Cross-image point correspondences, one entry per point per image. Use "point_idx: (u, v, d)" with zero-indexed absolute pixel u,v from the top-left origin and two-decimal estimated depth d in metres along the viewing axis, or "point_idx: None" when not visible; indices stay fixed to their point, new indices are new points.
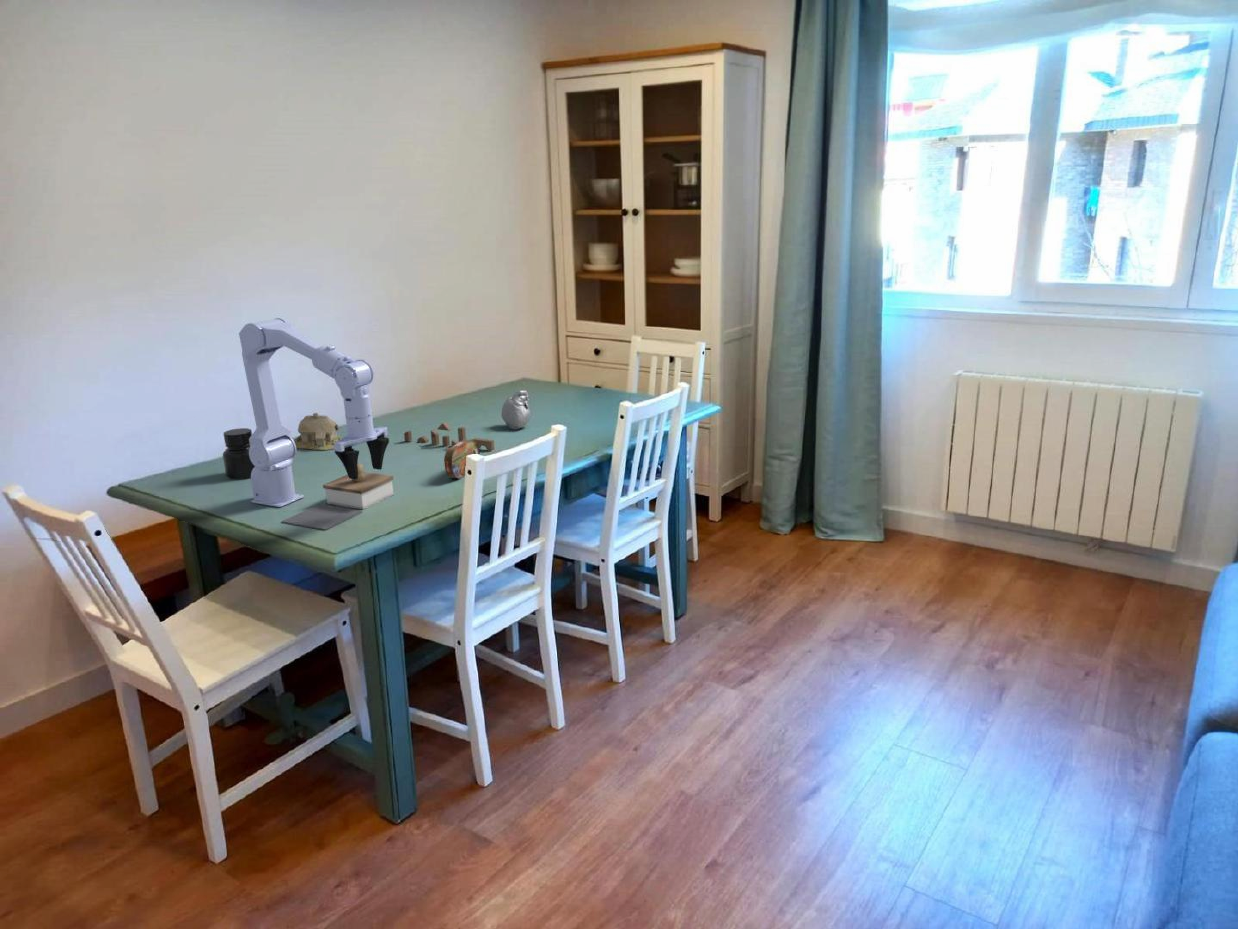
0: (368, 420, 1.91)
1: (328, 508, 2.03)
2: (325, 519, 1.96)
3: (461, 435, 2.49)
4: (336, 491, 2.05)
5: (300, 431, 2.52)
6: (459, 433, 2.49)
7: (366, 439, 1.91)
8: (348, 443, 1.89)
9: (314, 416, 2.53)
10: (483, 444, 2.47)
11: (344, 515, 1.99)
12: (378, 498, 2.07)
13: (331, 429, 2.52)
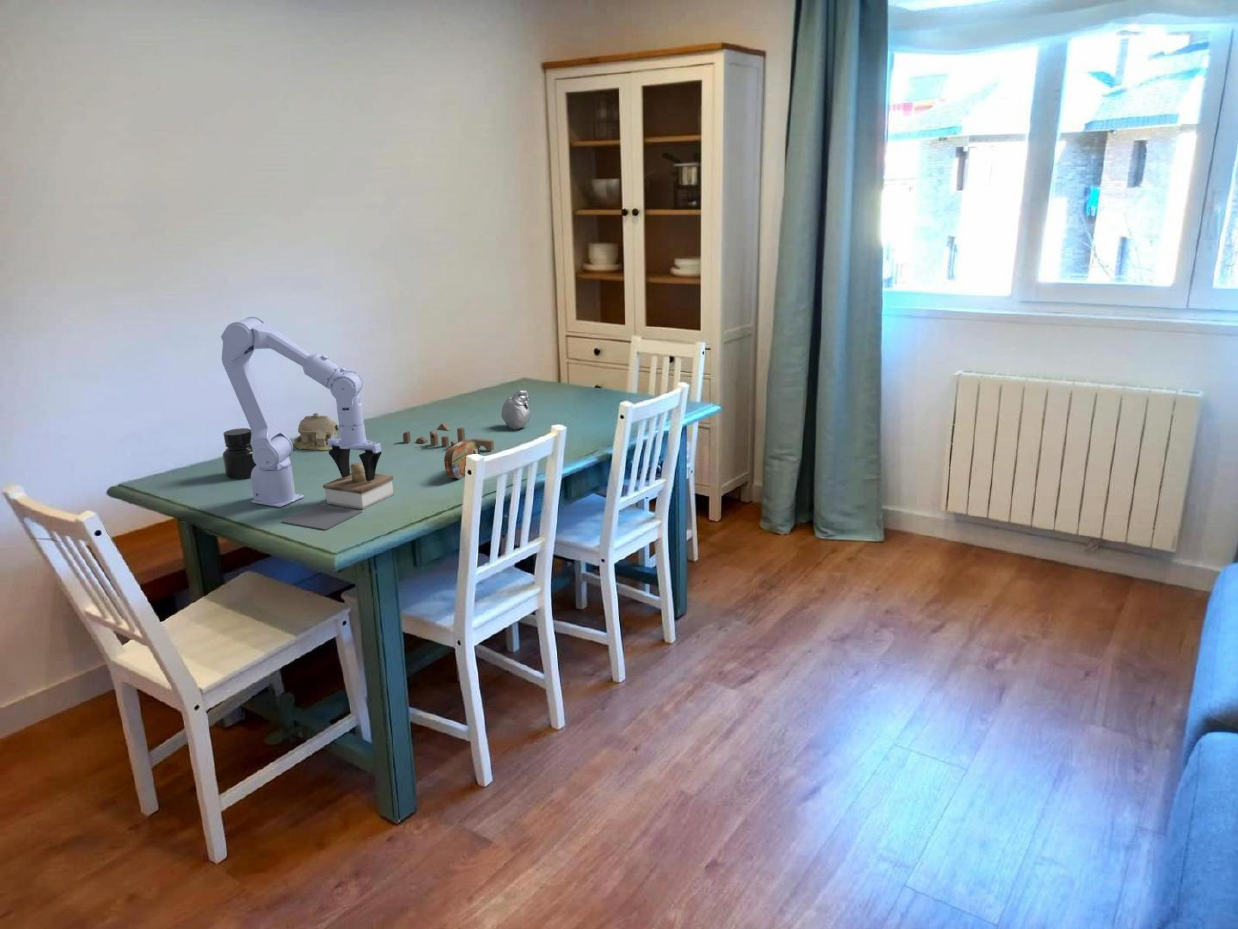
0: (343, 429, 2.02)
1: (328, 508, 2.03)
2: (325, 519, 1.96)
3: (460, 436, 2.48)
4: (336, 491, 2.05)
5: (300, 431, 2.52)
6: (458, 433, 2.48)
7: None
8: (333, 442, 2.07)
9: (314, 416, 2.53)
10: (483, 444, 2.46)
11: (344, 515, 1.99)
12: (378, 498, 2.07)
13: (331, 429, 2.52)
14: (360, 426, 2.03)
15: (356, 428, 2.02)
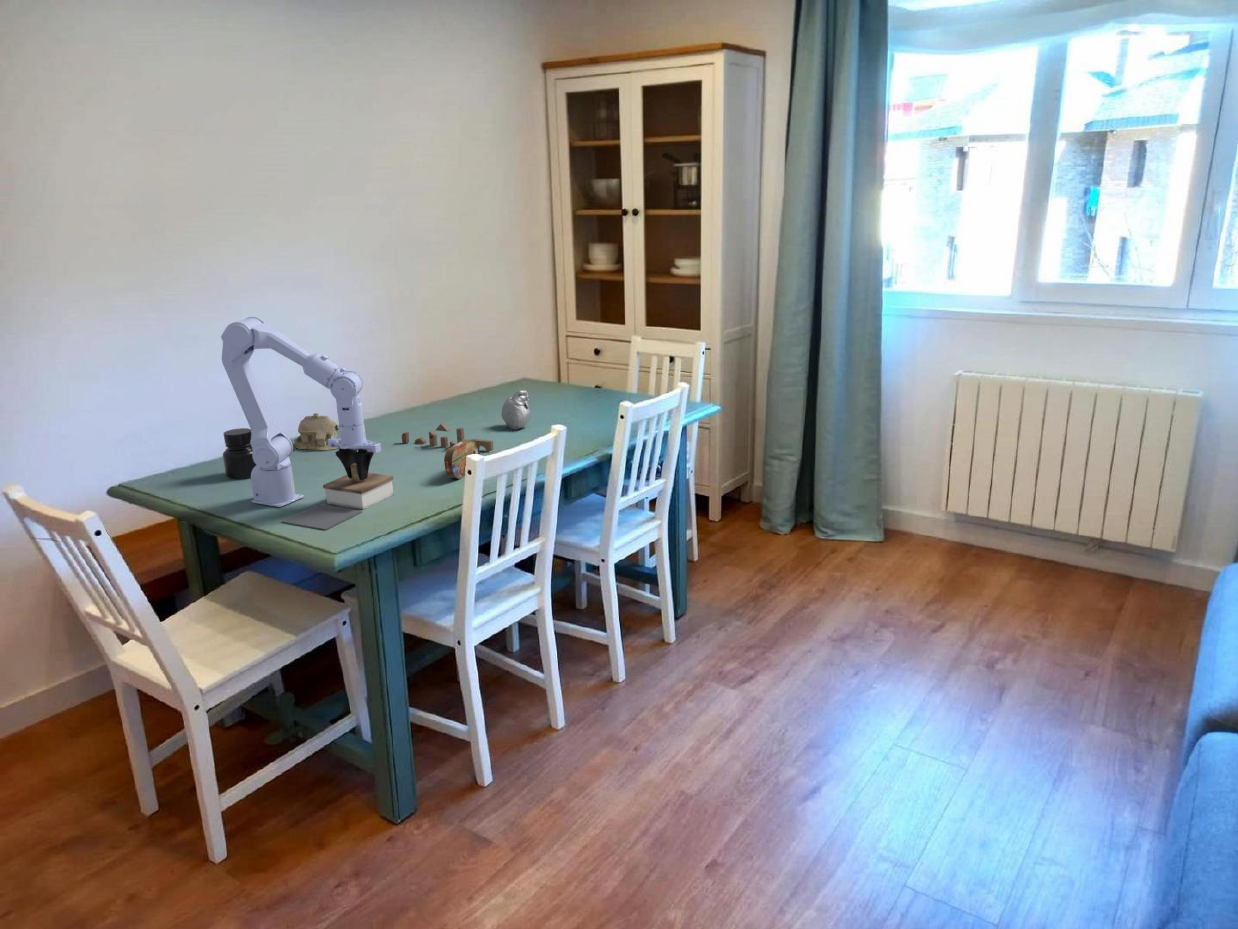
0: (343, 429, 2.02)
1: (328, 508, 2.03)
2: (325, 519, 1.96)
3: (460, 436, 2.48)
4: (336, 491, 2.05)
5: (300, 431, 2.52)
6: (458, 434, 2.48)
7: None
8: (333, 442, 2.07)
9: (314, 416, 2.53)
10: (482, 445, 2.46)
11: (344, 515, 1.99)
12: (378, 498, 2.07)
13: (331, 429, 2.52)
14: (360, 426, 2.03)
15: (356, 428, 2.02)
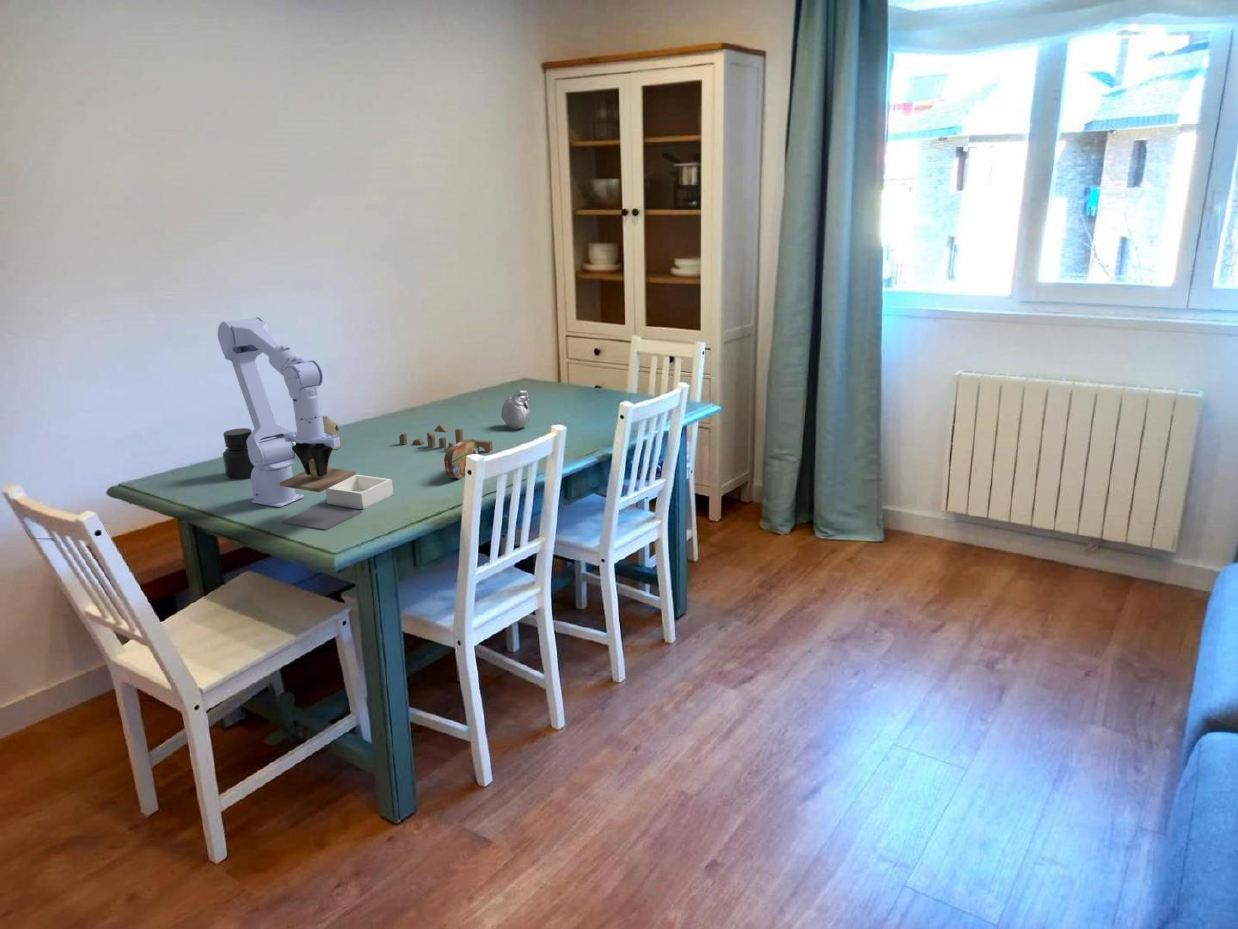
0: (299, 422, 1.89)
1: (328, 508, 2.03)
2: (325, 519, 1.96)
3: (458, 437, 2.47)
4: (336, 491, 2.05)
5: None
6: (456, 435, 2.47)
7: None
8: (289, 436, 1.94)
9: None
10: (481, 445, 2.45)
11: (344, 515, 1.99)
12: (378, 498, 2.07)
13: (332, 429, 2.52)
14: (318, 419, 1.90)
15: (313, 421, 1.89)
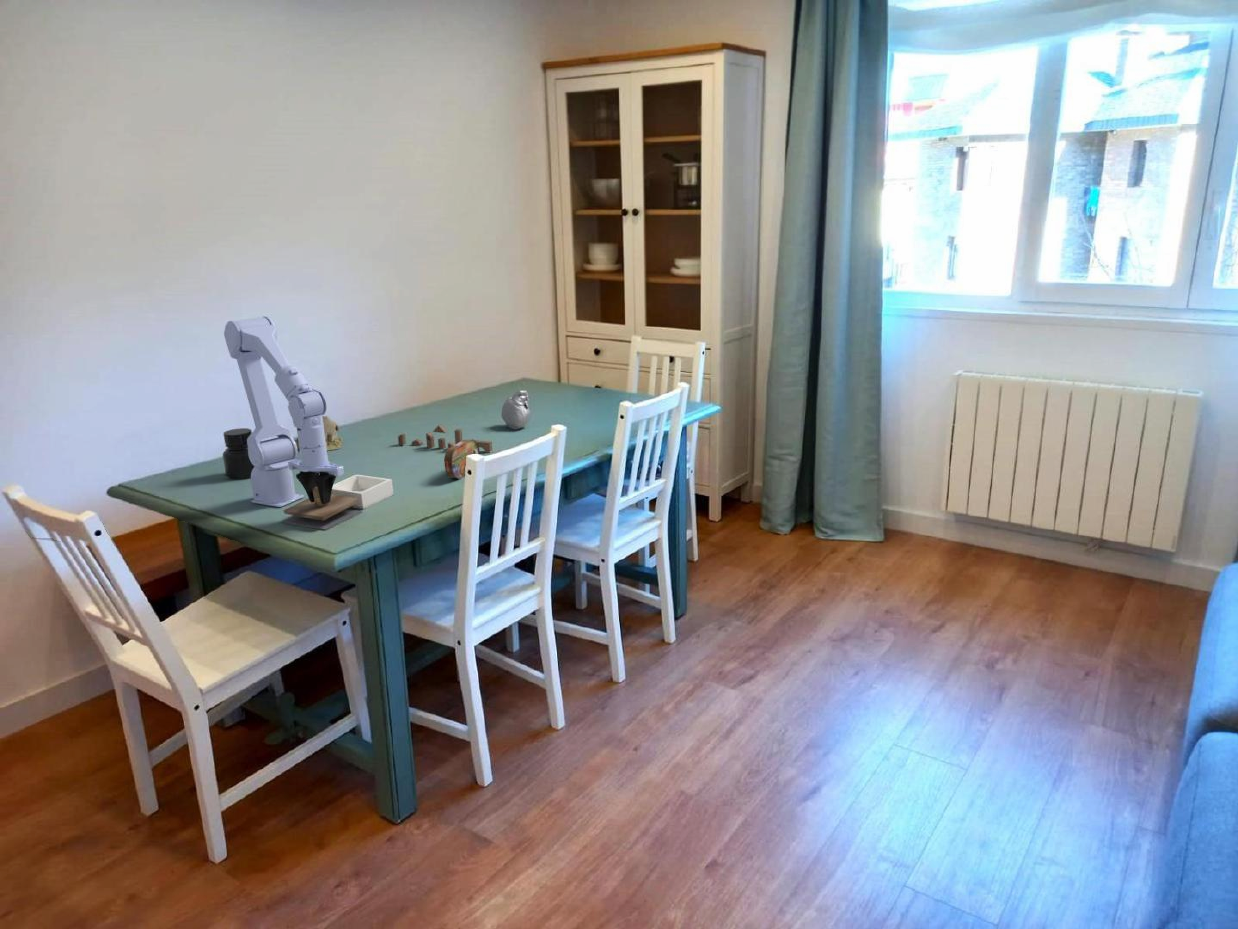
0: (303, 451, 1.91)
1: None
2: (325, 519, 1.96)
3: (458, 438, 2.47)
4: (336, 491, 2.05)
5: None
6: (456, 435, 2.47)
7: None
8: (293, 465, 1.96)
9: None
10: (481, 446, 2.45)
11: (344, 515, 1.99)
12: (378, 498, 2.07)
13: (332, 429, 2.52)
14: (321, 448, 1.92)
15: (317, 450, 1.91)
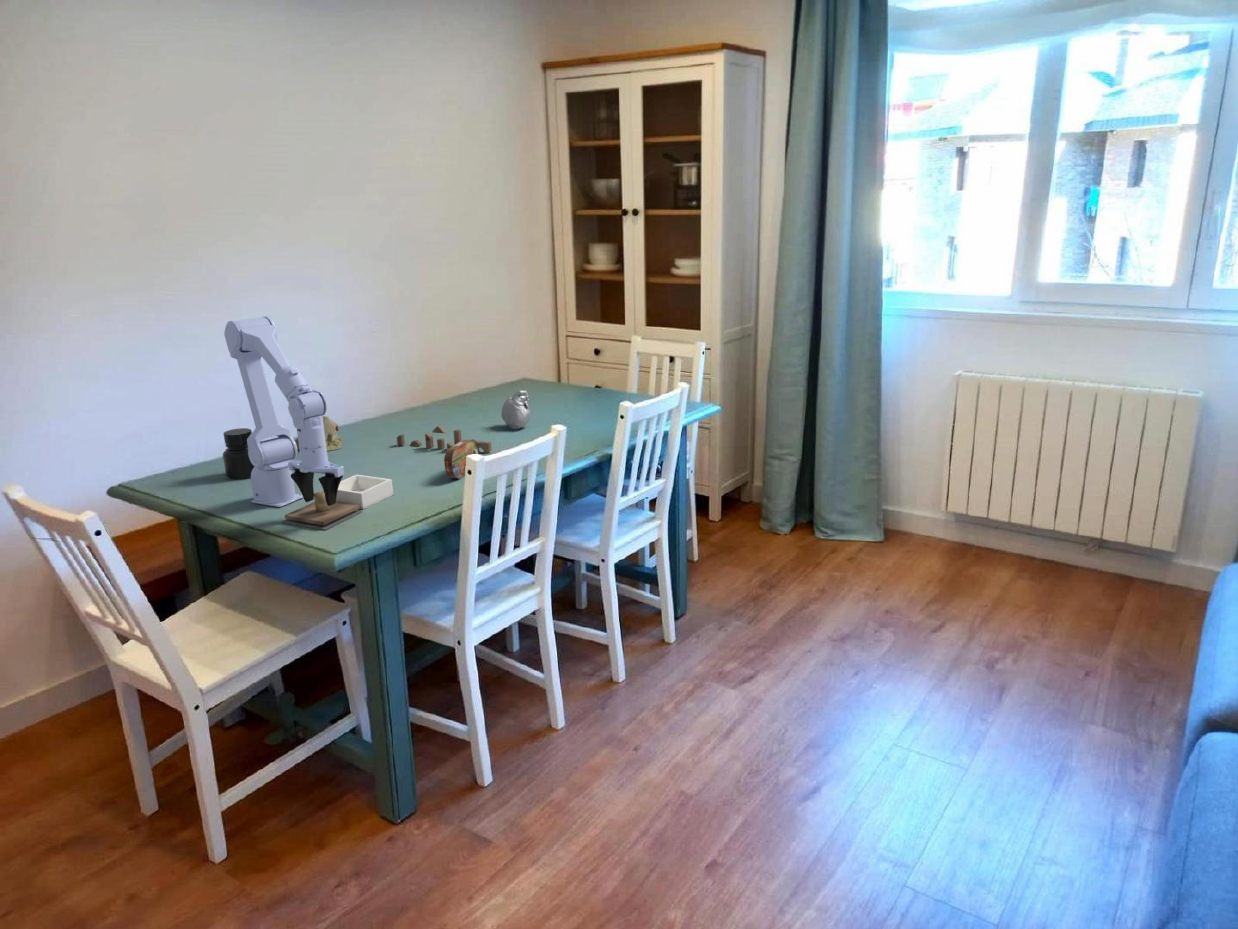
0: (303, 452, 1.91)
1: None
2: None
3: (457, 438, 2.46)
4: None
5: None
6: (455, 436, 2.46)
7: None
8: (293, 465, 1.96)
9: None
10: (480, 446, 2.45)
11: None
12: (378, 498, 2.07)
13: (333, 430, 2.52)
14: (321, 448, 1.92)
15: (317, 450, 1.92)
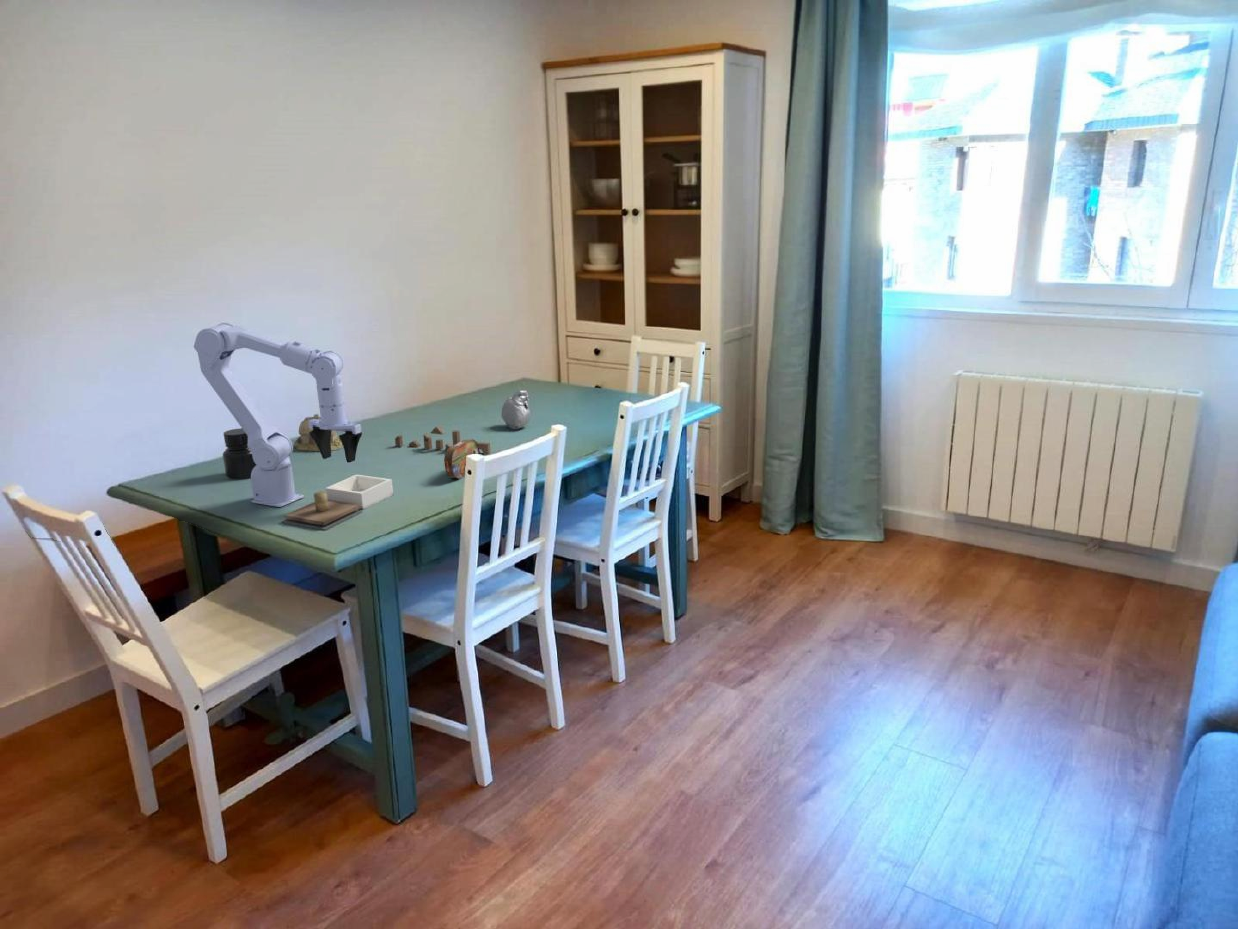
0: (323, 410, 2.01)
1: None
2: None
3: (455, 439, 2.46)
4: (336, 491, 2.05)
5: (301, 433, 2.50)
6: (453, 436, 2.45)
7: None
8: (313, 423, 2.05)
9: (315, 417, 2.52)
10: (479, 447, 2.44)
11: None
12: (378, 498, 2.07)
13: (333, 430, 2.51)
14: (340, 407, 2.02)
15: (336, 409, 2.01)
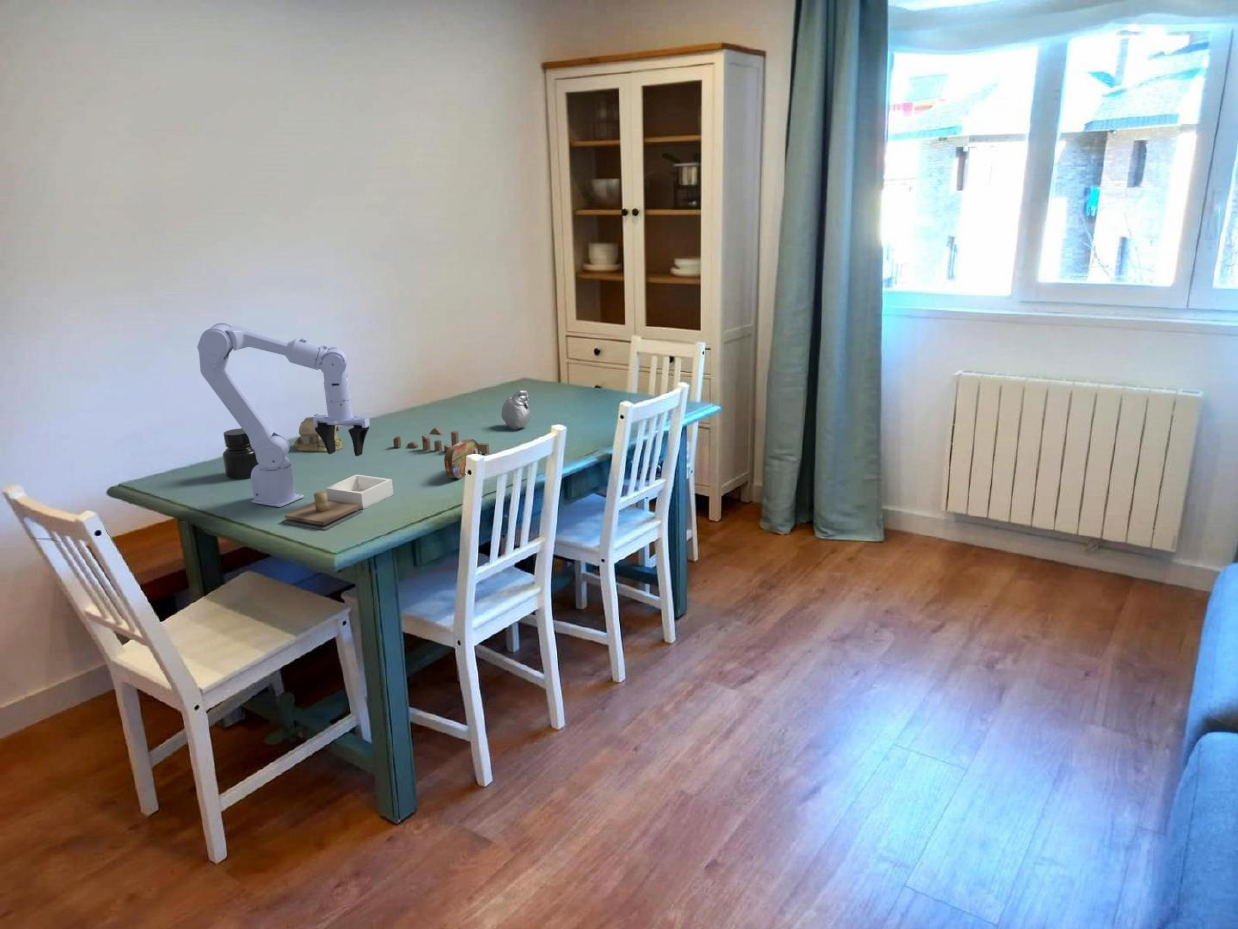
0: (331, 405, 2.04)
1: None
2: None
3: (454, 440, 2.45)
4: (336, 491, 2.05)
5: (301, 433, 2.50)
6: (452, 437, 2.45)
7: None
8: (319, 419, 2.08)
9: None
10: None
11: None
12: (378, 498, 2.07)
13: None
14: (348, 401, 2.05)
15: (344, 403, 2.05)
